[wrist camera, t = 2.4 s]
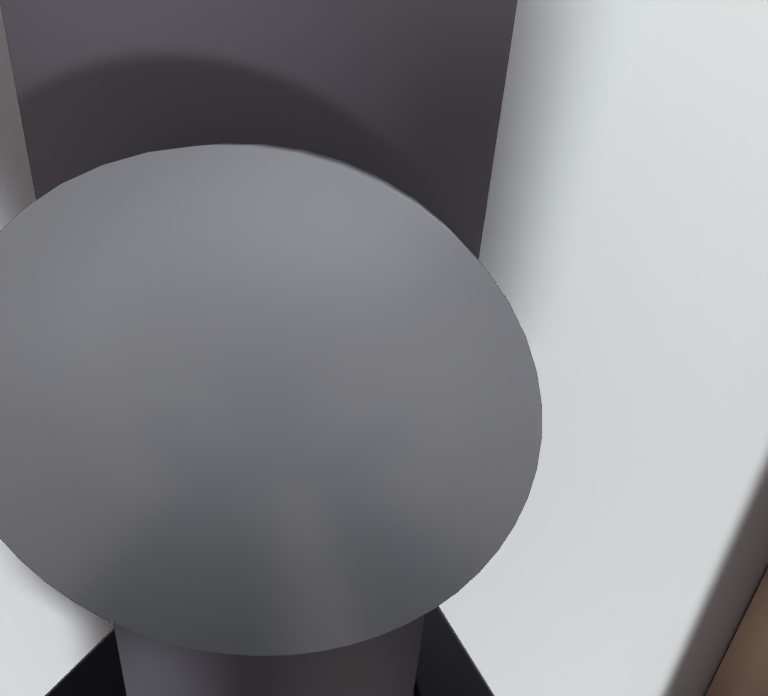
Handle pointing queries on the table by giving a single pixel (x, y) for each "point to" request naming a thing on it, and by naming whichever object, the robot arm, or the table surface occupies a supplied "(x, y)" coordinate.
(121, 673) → the robot arm
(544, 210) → the table surface
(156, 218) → the grey bar with knobs
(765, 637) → the display stand
